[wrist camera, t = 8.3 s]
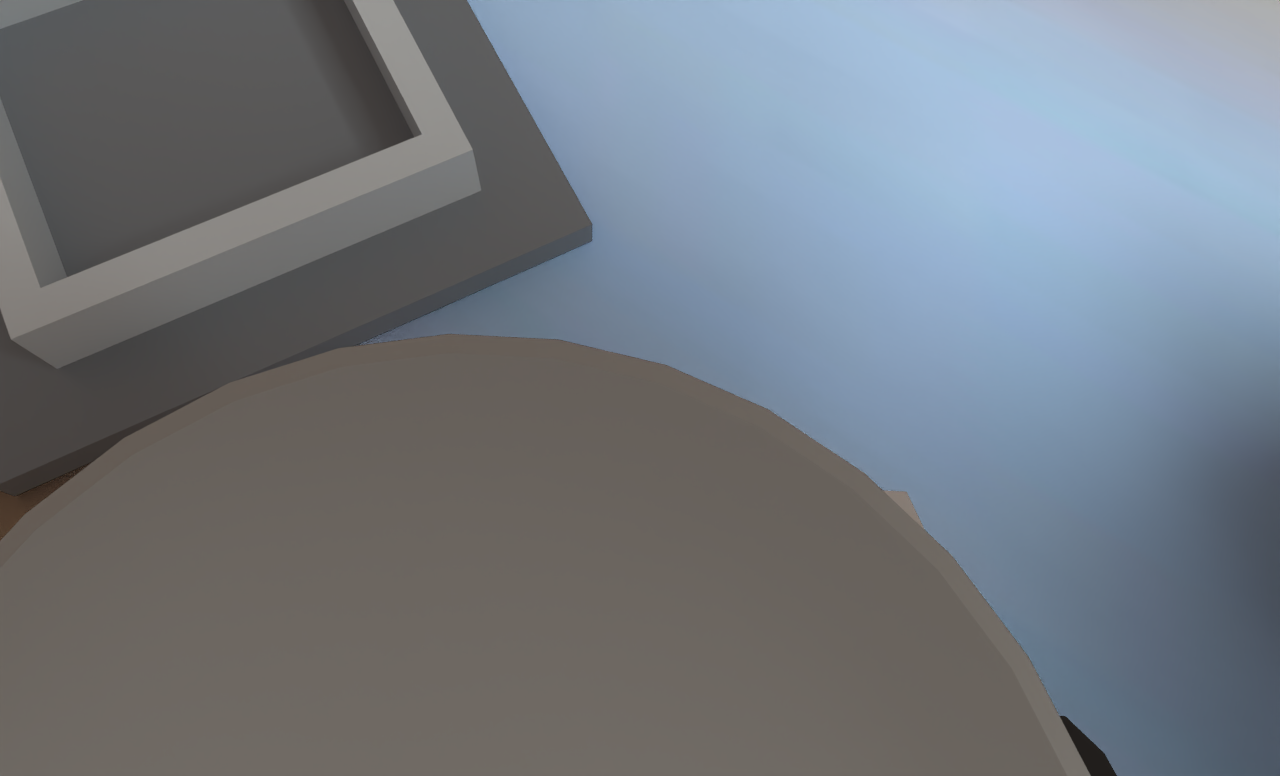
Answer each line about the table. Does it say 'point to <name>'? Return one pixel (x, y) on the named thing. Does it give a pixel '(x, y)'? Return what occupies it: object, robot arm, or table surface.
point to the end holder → (241, 198)
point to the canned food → (496, 589)
